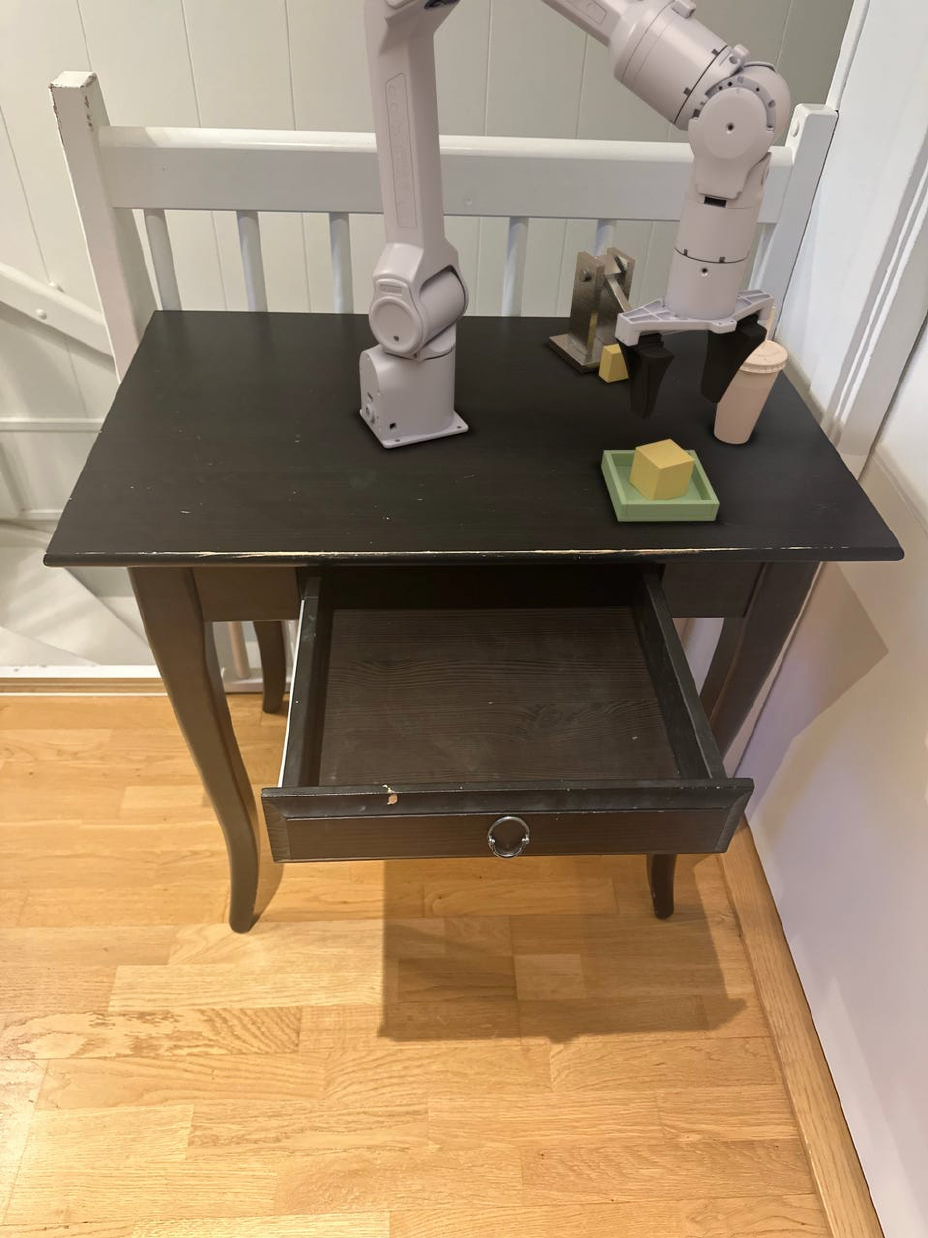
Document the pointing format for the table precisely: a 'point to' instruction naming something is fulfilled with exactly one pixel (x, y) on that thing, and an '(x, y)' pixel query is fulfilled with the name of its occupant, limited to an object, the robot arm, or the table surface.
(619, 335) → the robot arm
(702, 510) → the dish
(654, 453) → the yellow cube
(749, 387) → the smoothie
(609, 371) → the butter block
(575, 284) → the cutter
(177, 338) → the table surface
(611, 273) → the cutter lever
